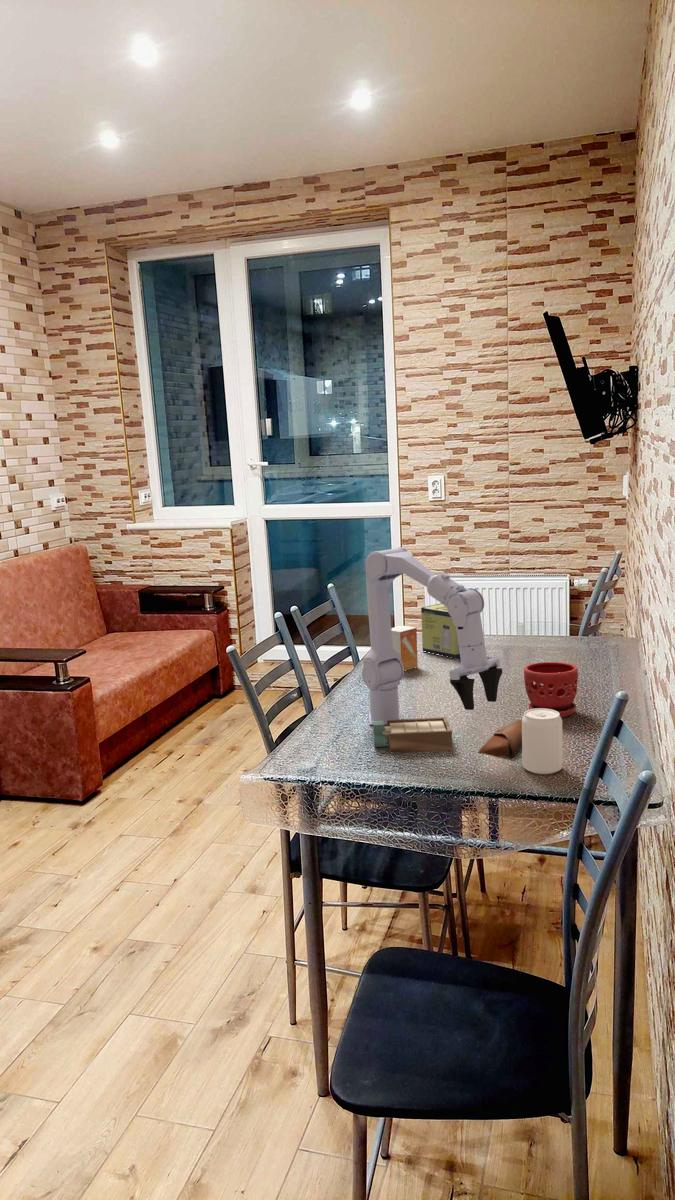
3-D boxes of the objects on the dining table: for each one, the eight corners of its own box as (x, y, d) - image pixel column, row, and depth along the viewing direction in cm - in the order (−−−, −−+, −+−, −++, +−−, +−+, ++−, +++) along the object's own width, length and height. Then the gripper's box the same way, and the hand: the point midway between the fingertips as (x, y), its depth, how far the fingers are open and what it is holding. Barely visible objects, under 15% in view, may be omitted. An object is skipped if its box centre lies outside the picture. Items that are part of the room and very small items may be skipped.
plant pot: (584, 708, 204) (584, 663, 202) (567, 723, 194) (567, 675, 192) (535, 702, 212) (535, 658, 210) (516, 716, 201) (515, 670, 199)
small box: (401, 673, 246) (400, 632, 244) (386, 670, 251) (384, 629, 249) (418, 667, 252) (417, 627, 250) (403, 664, 256) (401, 624, 254)
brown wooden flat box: (387, 737, 190) (387, 719, 190) (446, 734, 190) (446, 717, 190) (390, 752, 181) (389, 734, 180) (452, 750, 180) (451, 731, 180)
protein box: (442, 646, 278) (441, 602, 275) (477, 653, 266) (476, 607, 264) (421, 652, 272) (419, 607, 269) (455, 659, 260) (454, 612, 257)
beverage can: (544, 779, 162) (544, 722, 160) (514, 768, 168) (513, 713, 166) (570, 768, 166) (570, 713, 164) (539, 758, 173) (539, 705, 171)
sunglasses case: (499, 727, 193) (513, 706, 191) (524, 745, 191) (538, 723, 188) (476, 753, 178) (490, 730, 175) (503, 772, 175) (518, 749, 173)
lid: (373, 738, 189) (372, 717, 188) (442, 735, 189) (442, 714, 188) (375, 750, 182) (374, 728, 181) (446, 747, 182) (446, 725, 181)
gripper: (463, 650, 169) (472, 713, 170) (506, 638, 178) (515, 698, 179) (439, 651, 175) (448, 712, 175) (482, 639, 184) (491, 697, 184)
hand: (480, 705), depth 177 cm, fingers open, 7 cm apart
